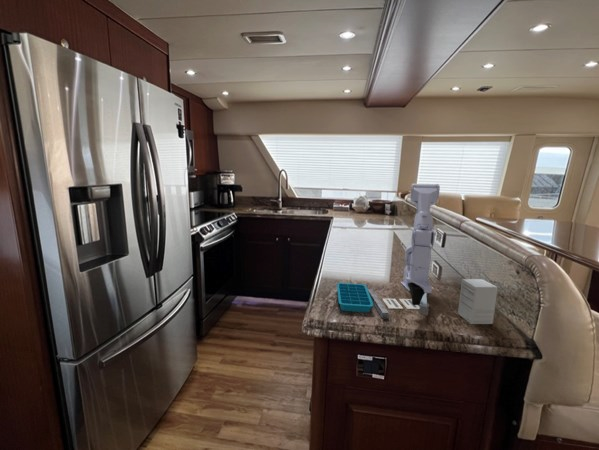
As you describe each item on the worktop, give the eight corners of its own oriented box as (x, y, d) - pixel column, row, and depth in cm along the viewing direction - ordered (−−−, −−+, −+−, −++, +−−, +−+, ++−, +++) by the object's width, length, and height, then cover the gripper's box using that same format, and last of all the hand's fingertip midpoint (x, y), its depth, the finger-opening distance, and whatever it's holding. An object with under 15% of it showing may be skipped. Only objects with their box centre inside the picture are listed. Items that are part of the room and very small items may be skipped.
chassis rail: (366, 293, 111) (367, 288, 110) (371, 293, 111) (372, 288, 110) (382, 318, 91) (382, 312, 91) (388, 318, 91) (388, 312, 91)
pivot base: (412, 301, 105) (412, 300, 104) (425, 301, 105) (425, 301, 105) (418, 307, 100) (418, 306, 100) (432, 307, 100) (432, 307, 100)
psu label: (382, 299, 106) (382, 298, 106) (395, 299, 106) (395, 298, 106) (388, 308, 98) (389, 307, 98) (403, 309, 98) (403, 308, 98)
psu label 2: (399, 299, 106) (399, 298, 106) (412, 299, 106) (412, 298, 106) (407, 309, 98) (407, 308, 98) (421, 309, 98) (421, 308, 98)
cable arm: (418, 301, 104) (419, 289, 103) (426, 302, 103) (427, 290, 102) (418, 321, 89) (419, 307, 88) (427, 322, 88) (428, 309, 87)
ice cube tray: (338, 312, 95) (339, 304, 95) (336, 289, 115) (336, 282, 114) (373, 314, 94) (374, 306, 94) (365, 291, 114) (365, 284, 113)
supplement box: (477, 313, 96) (482, 278, 94) (493, 324, 89) (499, 287, 87) (456, 313, 96) (461, 278, 94) (470, 324, 89) (475, 286, 87)
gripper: (399, 259, 98) (396, 295, 101) (417, 272, 84) (412, 314, 86) (419, 259, 99) (415, 295, 101) (440, 273, 84) (435, 315, 87)
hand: (415, 304), depth 94 cm, fingers closed
